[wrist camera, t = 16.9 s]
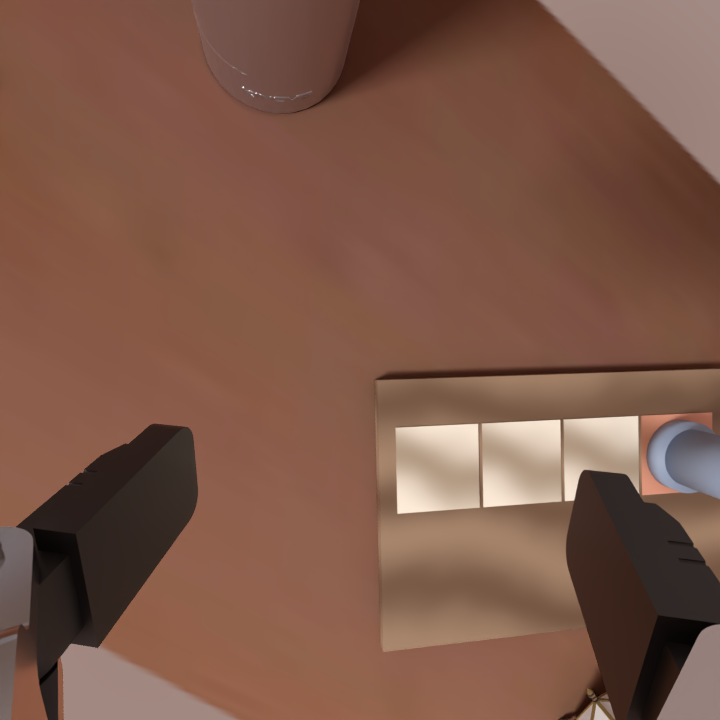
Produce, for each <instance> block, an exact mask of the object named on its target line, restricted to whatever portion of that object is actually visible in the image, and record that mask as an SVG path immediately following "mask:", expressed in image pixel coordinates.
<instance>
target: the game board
mask: <svg viewBox="0 0 720 720" xmlns="http://www.w3.org/2000/svg"><path fill="white" fill-rule="evenodd" d="M374 383H375V426H376V470H377V513H378V557H379V601H380V644H381V646H382V649H383V652H387V651H395V650H403V649H412V648H420V647H429V646H437V645H446V644H454V643H463V642H471V641H479V640H488V639H496V638H505V637H513V636H522V635H530V634H538V633H547V632H555V631H564V630H572V629H581V628H586V624H585V621H584V618H583V615H582V612H581V609H580V605H579V602H578V599H577V596H576V593H575V589H574V586H573V583H572V580H571V577H570V573H569V570H568V566H567V560H566V538H567V532H568V528H569V523H570V518H571V513H572V509H573V504H574V499H575V494H576V490H577V485H578V480H579V477H580V475H581V473H582V471H583V470H593V471H603V472H612V473H622V474H626V475H627V476H628V477H629V478H630V480H631V482H632V483H633V485H634V487H635V488H636V490H637V491H638V493H639V495H640V496H641V498H642V500H643V501H644V502H647V503H656V504H657V505H658V506H660V507H661V508H662V509H663V510H665V511H666V512H667V513H668V514H670V515H671V516H672V517H673V518H675V519H676V520H677V521H678V522H680V524H681V525H682V527H683V528H684V530H685V531H686V533H687V534H688V536H689V537H690V539H691V540H692V542H693V543H694V548H697V549H698V551H699V552H700V554H701V555H702V557H703V558H704V559H705V561H706V566H709V567H710V568H711V570H712V571H713V573H714V574H715V576H716V577H717V579H718V580H719V582H720V499H717V498H715V497H712V496H709V495H707V494H704V493H702V492H695V493H682V492H679V491H676V490H673V489H671V488H668V487H666V486H663V485H662V484H660V483H659V482H657V481H656V480H655V479H654V477H653V476H652V475H651V473H650V471H649V468H648V465H647V459H646V454H647V447H648V444H649V441H650V439H651V437H652V436H653V434H654V433H655V432H656V430H657V429H658V428H659V427H661V426H662V425H664V424H665V423H667V422H670V421H673V420H686V421H691V422H696V423H700V424H703V425H705V426H707V427H709V428H710V429H711V430H713V432H714V433H715V434H716V435H720V369H715V368H711V369H681V370H650V371H620V372H590V373H559V374H529V375H499V376H469V377H438V378H408V379H378V380H374Z"/></svg>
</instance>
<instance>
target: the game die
mask: <svg viewBox="0 0 720 720" xmlns="http://www.w3.org/2000/svg"><path fill="white" fill-rule="evenodd" d="M587 696H589V699H592V701H591V703H590V704H589V705H588V706H587V707H586V708H585V709H584V710H583V711H582V712H581V713H580V714H579V715H578V716H577V717H576V718H575V719H574V720H615V717H614V714H613V711H612V707H611V704H610V701H609V698H608V695H607V692H605V693H603V694H601V695H600V696H598V697H597V696H596V693H594V690H591V689H589V688H587ZM560 720H565V718H563V719H560Z"/></svg>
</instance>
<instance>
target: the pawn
mask: <svg viewBox="0 0 720 720" xmlns="http://www.w3.org/2000/svg"><path fill="white" fill-rule="evenodd" d="M646 459H647V465H648V468H649V471H650V473H651V475H652V476H653V477H654V479H655V480H656V481H657V482H659V483H660V484H662V485H663V486H666V487H668V488H671V489H673V490H676V491H679V492H682V493H695V492H702V493H704V494H707V495H709V496H712V497H715V498H717V499H720V435H716V434H715V433H714V432H713V430H711V429H710V428H709V427H707V426H705V425H703V424H700V423H696V422H691V421H686V420H673V421H670V422H667V423H665V424H664V425H662V426H661V427H659V428H658V429H657V430H656V432H655V433H654V434H653V436H652V437H651V439H650V441H649V444H648V447H647V454H646Z"/></svg>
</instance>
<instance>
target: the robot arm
mask: <svg viewBox="0 0 720 720" xmlns="http://www.w3.org/2000/svg"><path fill="white" fill-rule="evenodd" d="M359 3H360V0H192V4H193V9H194V13H195V17H196V22H197V26H198V30H199V34H200V38H201V42H202V46H203V50H204V54H205V58H206V60H207V63H208V65H209V67H210V69H211V71H212V73H213V75H214V76H215V77H216V79H217V80H218V82H219V83H220V84H221V86H222V87H223V88H224V89H225V90H227V91H228V92H229V93H230V94H231V95H232V96H233V97H234V98H236V99H237V100H239V101H241V102H242V103H244V104H246V105H247V106H250V107H252V108H255V109H258V110H261V111H265V112H271V113H293V112H296V111H300V110H304V109H307V108H309V107H311V106H312V105H314V104H316V103H318V102H320V101H321V100H322V99H323V98H324V97H325V96H326V95H327V94H329V93H330V92H331V90H332V89H333V87H334V86H335V84H336V83H337V82H338V80H339V78H340V75H341V73H342V70H343V68H344V64H345V60H346V56H347V52H348V47H349V43H350V39H351V35H352V32H353V28H354V24H355V19H356V15H357V11H358V7H359ZM197 497H198V485H197V474H196V463H195V451H194V440H193V434H192V432H191V430H190V429H189V428H188V427H182V426H172V425H163V424H152V425H150V426H149V427H147V428H146V429H145V430H144V431H143V432H142V433H141V434H139V435H138V436H137V437H136V438H135V439H134V440H133V441H131V442H130V443H129V444H124V445H122V446H119V447H117V448H115V449H113V450H111V451H109V452H107V453H105V454H103V455H101V456H100V457H99V458H97V459H96V460H95V461H94V462H93V463H91V464H90V465H89V466H88V467H87V468H85V469H84V472H83V473H79V474H78V475H77V476H76V477H75V478H74V479H72V480H71V481H70V482H69V485H65V486H64V487H63V488H62V489H60V490H59V491H58V492H57V493H56V494H54V495H53V496H52V497H51V498H50V499H49V500H47V501H46V502H45V503H44V504H43V505H41V506H40V507H39V508H38V509H37V510H35V511H34V512H33V513H32V514H31V515H30V516H28V517H27V518H26V519H25V520H24V521H22V522H21V523H20V524H19V525H18V526H16V527H0V720H64V719H63V718H64V716H63V715H64V714H63V669H62V663H61V659H60V656H61V655H62V654H63V653H64V651H65V650H66V649H67V647H68V646H69V645H70V644H71V643H72V644H78V645H84V646H91V647H96V648H98V647H99V646H100V644H101V643H102V641H103V640H104V639H105V637H106V636H107V634H108V633H109V632H110V630H111V629H112V628H113V626H114V625H115V623H116V622H117V621H118V619H119V618H120V616H121V615H122V614H123V612H124V611H125V609H126V608H127V607H128V605H129V604H130V602H131V601H132V600H133V598H134V597H135V596H136V594H137V593H138V591H139V590H140V589H141V587H142V586H143V584H144V583H145V582H146V580H147V579H148V577H149V576H150V575H151V573H152V572H153V570H154V569H155V568H156V566H157V565H158V564H159V562H160V561H161V559H162V558H163V557H164V555H165V554H166V552H167V551H168V550H169V548H170V547H171V545H172V544H173V543H174V541H175V540H176V538H177V537H178V536H179V534H180V533H181V532H182V530H183V529H184V527H185V526H186V525H187V523H188V522H189V520H190V519H191V517H192V515H193V513H194V510H195V507H196V503H197ZM566 560H567V566H568V570H569V573H570V577H571V580H572V583H573V586H574V589H575V593H576V596H577V599H578V602H579V605H580V609H581V612H582V615H583V618H584V621H585V624H586V628H587V631H588V634H589V637H590V640H591V644H592V647H593V650H594V653H595V656H596V660H597V663H598V666H599V669H600V672H601V675H602V679H603V682H604V685H605V688H606V691H607V695H608V698H609V701H610V704H611V707H612V711H613V714H614V717H615V720H720V582H719V580H718V579H717V577H716V576H715V574H714V573H713V571H712V570H711V568H710V567H709V566H706V561H705V559H704V558H703V557H702V555H701V554H700V552H699V551H698V549H697V548H694V543H693V542H692V540H691V539H690V537H689V536H688V534H687V533H686V531H685V530H684V528H683V527H682V525H681V524H680V522H678V521H677V520H676V519H675V518H673V517H672V516H671V515H670V514H668V513H667V512H666V511H665V510H663V509H662V508H661V507H660V506H658V505H657V504H656V503H647V502H644V501H643V500H642V498H641V496H640V495H639V493H638V491H637V490H636V488H635V487H634V485H633V483H632V482H631V480H630V478H629V477H628V476H627V475H626V474H622V473H612V472H603V471H593V470H583V471H582V473H581V475H580V477H579V480H578V485H577V490H576V494H575V499H574V504H573V509H572V513H571V518H570V523H569V528H568V532H567V538H566Z"/></svg>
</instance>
